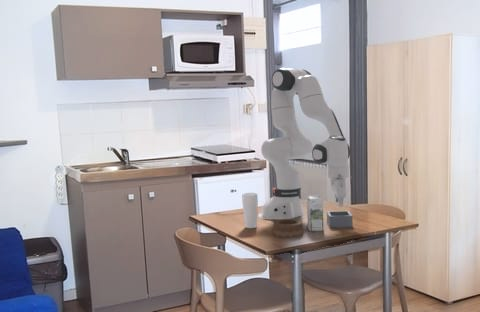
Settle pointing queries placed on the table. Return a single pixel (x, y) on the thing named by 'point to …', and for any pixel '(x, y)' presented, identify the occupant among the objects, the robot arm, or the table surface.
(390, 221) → the table surface
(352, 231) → the table surface
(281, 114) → the robot arm
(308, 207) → the syrup box
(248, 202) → the drinking glass
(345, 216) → the slate square socket
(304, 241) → the table surface
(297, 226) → the walnut round socket
